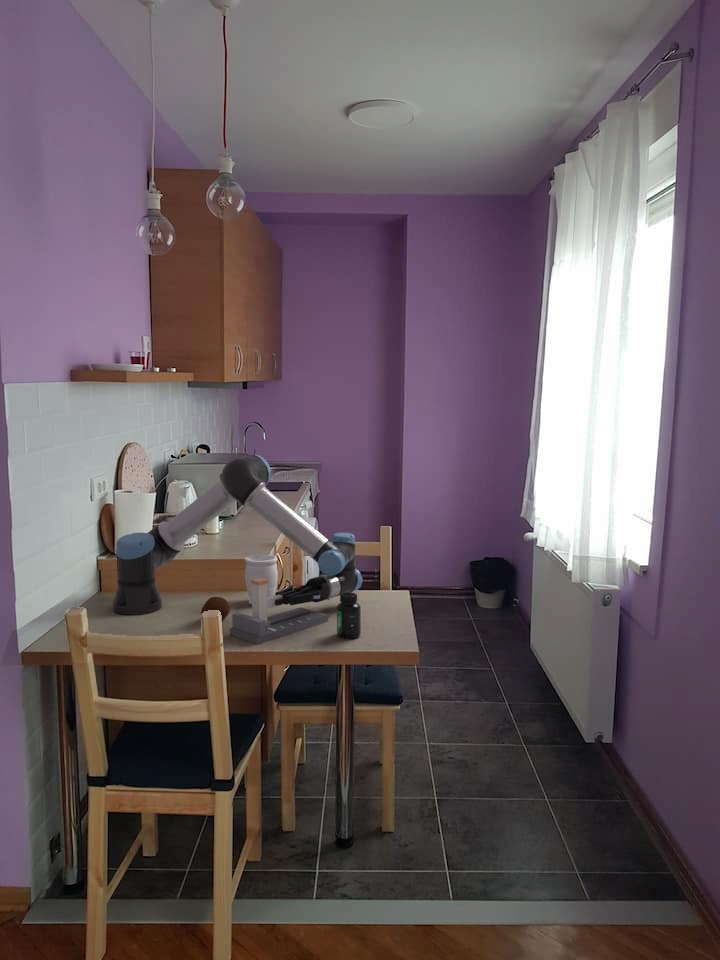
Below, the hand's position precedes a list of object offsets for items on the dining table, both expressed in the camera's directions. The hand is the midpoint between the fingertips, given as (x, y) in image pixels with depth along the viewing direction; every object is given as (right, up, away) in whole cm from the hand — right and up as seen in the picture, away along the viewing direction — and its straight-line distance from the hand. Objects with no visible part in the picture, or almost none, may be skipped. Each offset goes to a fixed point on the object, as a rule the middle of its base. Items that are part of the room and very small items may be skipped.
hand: (264, 604), depth 224 cm
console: (+4, -8, +6) cm, 10 cm away
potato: (-16, -7, +12) cm, 21 cm away
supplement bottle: (+24, -9, -1) cm, 26 cm away
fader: (-1, -6, -1) cm, 6 cm away
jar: (-5, -5, +32) cm, 33 cm away
